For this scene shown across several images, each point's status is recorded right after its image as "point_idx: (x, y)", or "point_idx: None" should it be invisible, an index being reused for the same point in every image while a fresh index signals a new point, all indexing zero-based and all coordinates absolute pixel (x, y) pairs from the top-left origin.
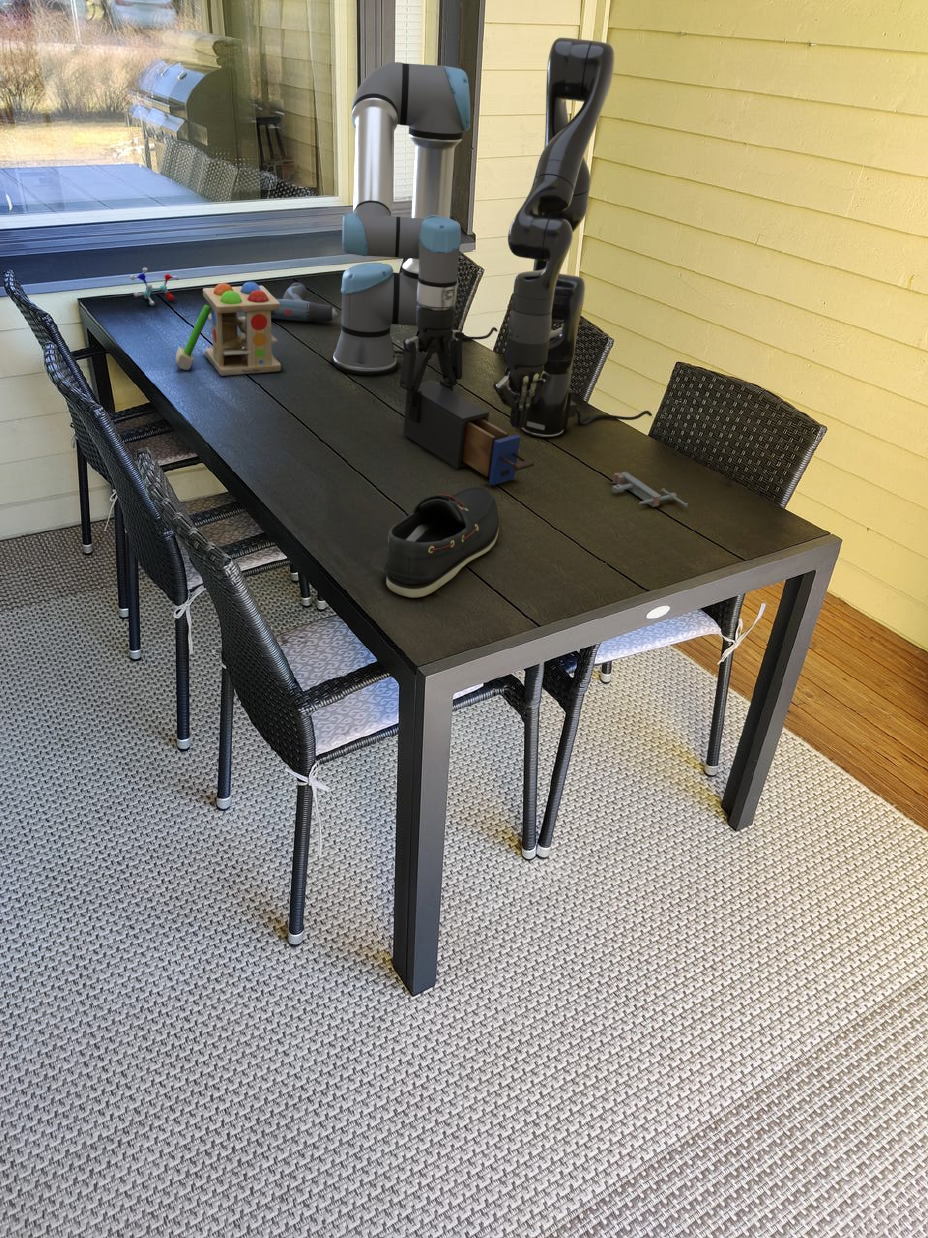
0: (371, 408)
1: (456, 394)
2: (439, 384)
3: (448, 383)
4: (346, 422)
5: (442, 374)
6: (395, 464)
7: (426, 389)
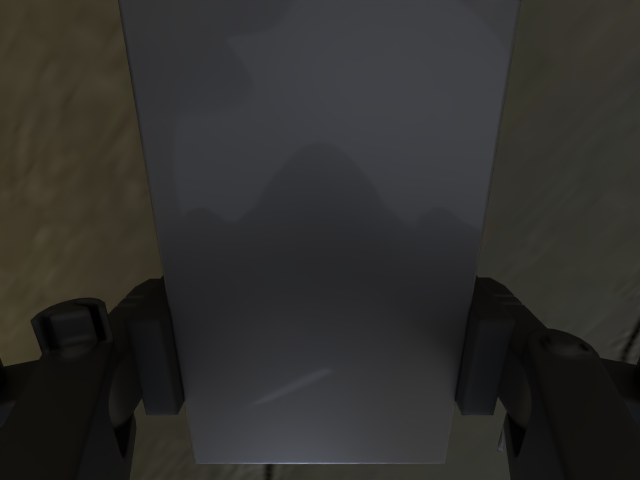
0: (326, 467)
1: (167, 156)
2: (198, 387)
3: (130, 352)
4: (457, 430)
5: (130, 468)
6: (587, 94)
7: (364, 358)
